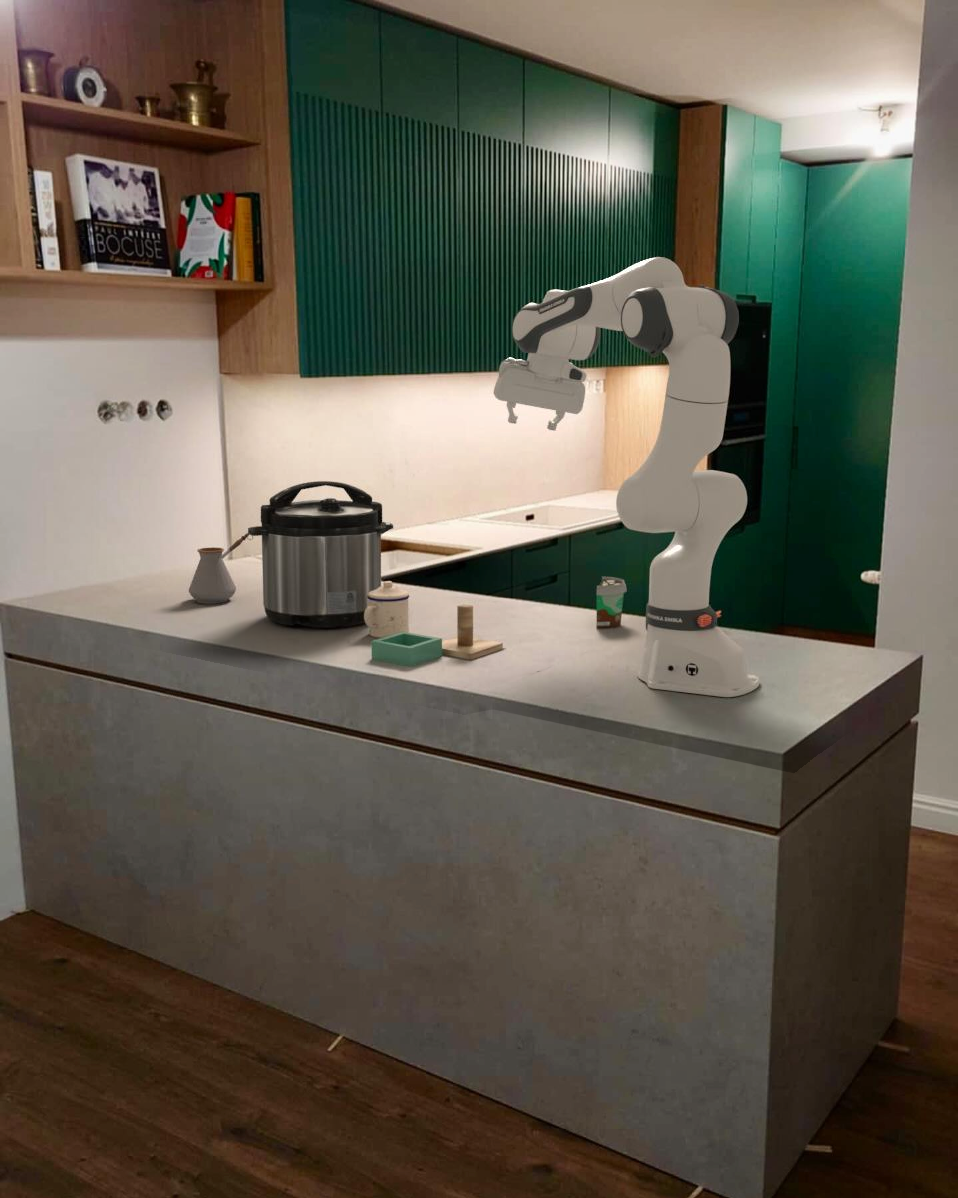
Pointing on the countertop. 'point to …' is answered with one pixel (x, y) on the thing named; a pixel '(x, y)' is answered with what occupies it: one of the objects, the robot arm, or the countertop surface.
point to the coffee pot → (213, 576)
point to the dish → (406, 648)
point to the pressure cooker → (320, 556)
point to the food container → (610, 602)
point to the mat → (475, 658)
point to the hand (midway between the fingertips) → (531, 426)
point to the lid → (467, 638)
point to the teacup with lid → (387, 611)
